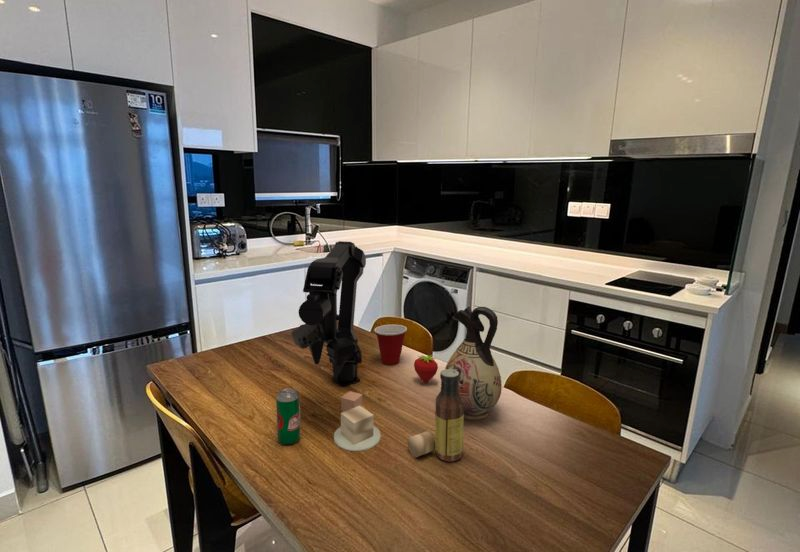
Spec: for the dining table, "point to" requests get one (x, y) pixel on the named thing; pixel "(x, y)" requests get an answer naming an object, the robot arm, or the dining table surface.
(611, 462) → the dining table surface
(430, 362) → the strawberry
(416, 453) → the beech cylinder
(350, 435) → the maple block
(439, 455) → the sauce bottle
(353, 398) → the terracotta block
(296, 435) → the soda can
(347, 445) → the coaster
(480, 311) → the ceramic jug
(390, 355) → the plastic cup
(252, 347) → the dining table surface
